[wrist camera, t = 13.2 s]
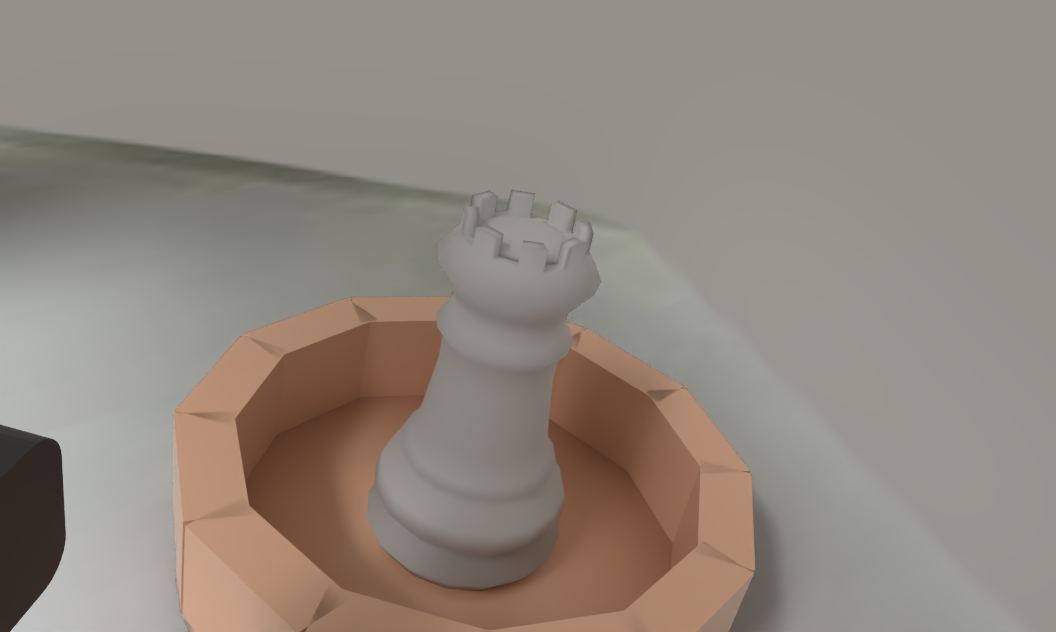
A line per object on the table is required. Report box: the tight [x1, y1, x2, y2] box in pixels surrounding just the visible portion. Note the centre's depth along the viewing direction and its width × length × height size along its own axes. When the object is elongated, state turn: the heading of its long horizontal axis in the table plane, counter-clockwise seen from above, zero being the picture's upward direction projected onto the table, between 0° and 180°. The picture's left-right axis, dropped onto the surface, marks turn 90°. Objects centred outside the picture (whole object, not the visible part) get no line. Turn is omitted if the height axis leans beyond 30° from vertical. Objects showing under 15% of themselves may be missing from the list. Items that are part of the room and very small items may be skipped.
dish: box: [172, 297, 755, 632], centre depth 22 cm, size 12×12×3 cm
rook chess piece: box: [367, 190, 601, 591], centre depth 21 cm, size 4×4×8 cm
